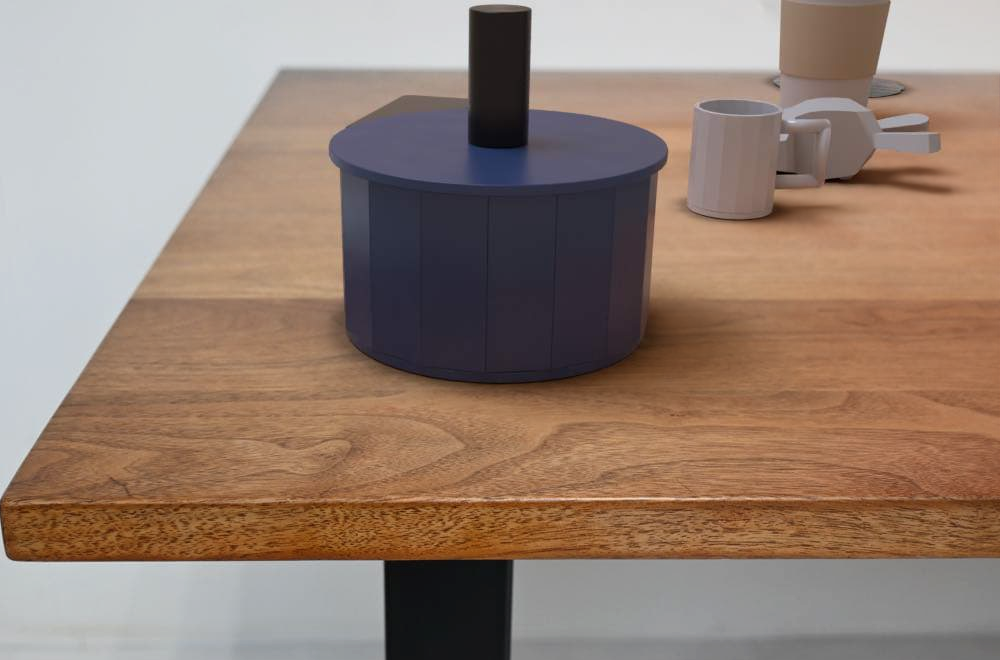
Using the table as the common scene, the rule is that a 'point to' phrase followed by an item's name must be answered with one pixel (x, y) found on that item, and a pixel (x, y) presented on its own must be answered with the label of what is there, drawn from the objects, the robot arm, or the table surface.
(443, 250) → the pot
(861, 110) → the bunny figurine
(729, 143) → the mug
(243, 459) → the table surface
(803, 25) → the coffee cup
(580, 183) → the lid
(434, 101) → the smartphone
